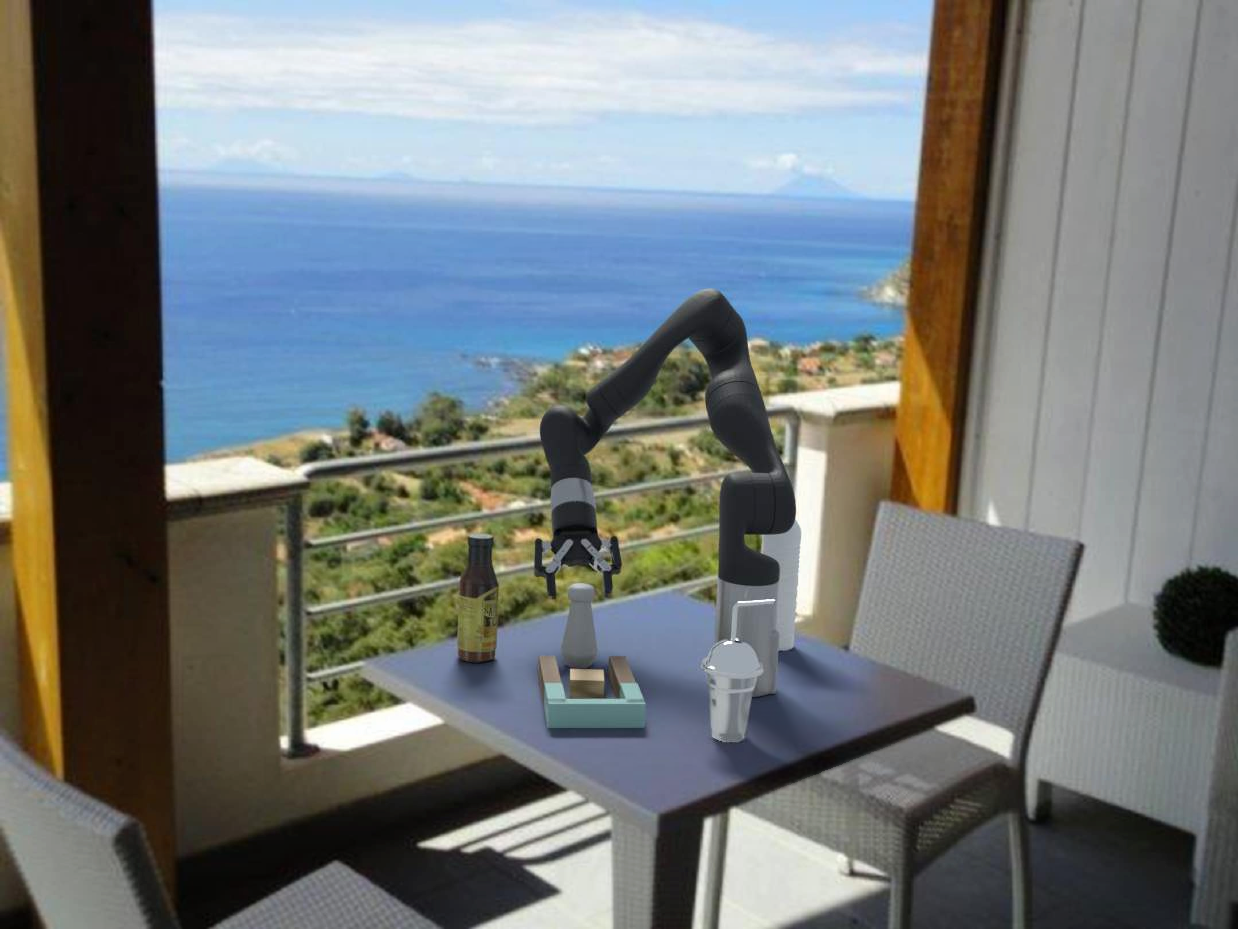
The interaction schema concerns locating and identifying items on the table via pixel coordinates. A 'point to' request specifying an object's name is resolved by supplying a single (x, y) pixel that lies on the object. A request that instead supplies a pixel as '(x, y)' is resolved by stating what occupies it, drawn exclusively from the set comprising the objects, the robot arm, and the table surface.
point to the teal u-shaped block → (594, 709)
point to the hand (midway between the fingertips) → (580, 596)
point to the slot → (617, 673)
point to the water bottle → (785, 580)
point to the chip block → (586, 683)
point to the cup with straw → (732, 681)
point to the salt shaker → (580, 628)
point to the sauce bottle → (478, 603)
